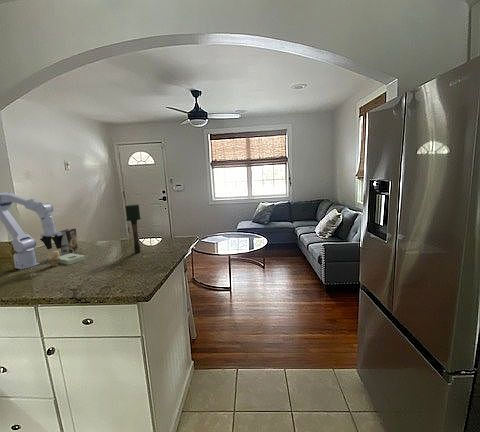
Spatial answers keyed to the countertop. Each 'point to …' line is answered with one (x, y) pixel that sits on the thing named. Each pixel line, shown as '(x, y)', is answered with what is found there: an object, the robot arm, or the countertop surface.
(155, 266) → the countertop surface
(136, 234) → the stick grenade
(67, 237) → the coffee box
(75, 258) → the board
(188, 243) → the countertop surface
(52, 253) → the peg
